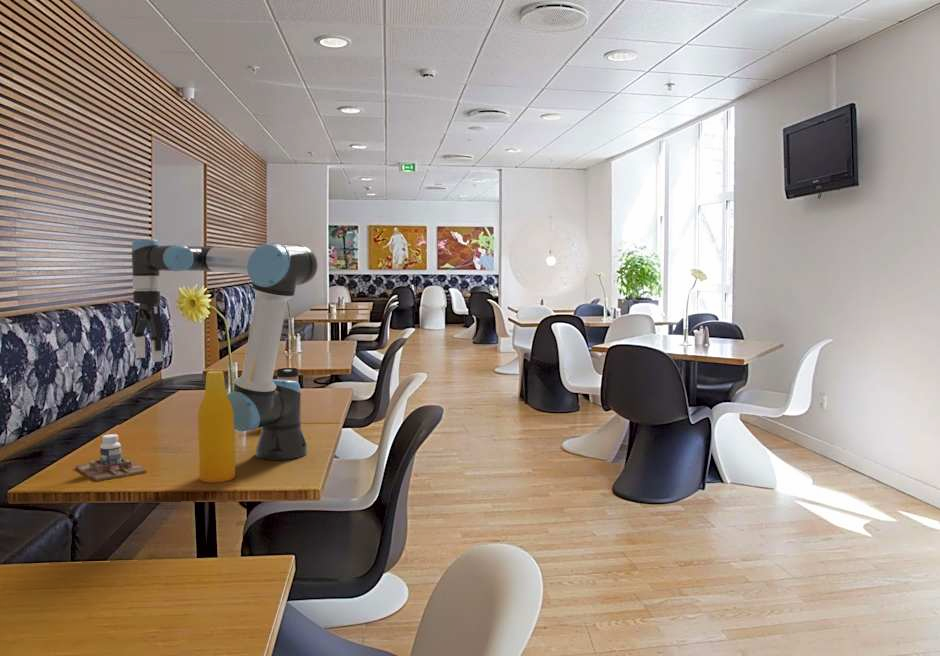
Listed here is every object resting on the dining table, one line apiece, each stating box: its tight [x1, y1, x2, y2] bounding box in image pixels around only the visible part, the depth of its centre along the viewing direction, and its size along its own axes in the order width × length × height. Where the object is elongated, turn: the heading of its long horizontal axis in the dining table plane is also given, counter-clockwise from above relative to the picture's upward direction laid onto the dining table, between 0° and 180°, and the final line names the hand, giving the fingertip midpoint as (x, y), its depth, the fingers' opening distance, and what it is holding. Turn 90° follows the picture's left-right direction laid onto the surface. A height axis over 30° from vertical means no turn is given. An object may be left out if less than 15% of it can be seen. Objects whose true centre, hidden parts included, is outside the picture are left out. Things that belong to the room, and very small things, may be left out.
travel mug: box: [276, 367, 299, 383], centre depth 277 cm, size 8×8×20 cm
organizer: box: [75, 455, 147, 482], centre depth 213 cm, size 18×13×3 cm
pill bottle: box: [99, 433, 122, 469], centre depth 212 cm, size 5×5×9 cm
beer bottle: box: [197, 370, 236, 484], centre depth 204 cm, size 9×9×29 cm
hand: (148, 359), depth 232 cm, fingers open, 13 cm apart
